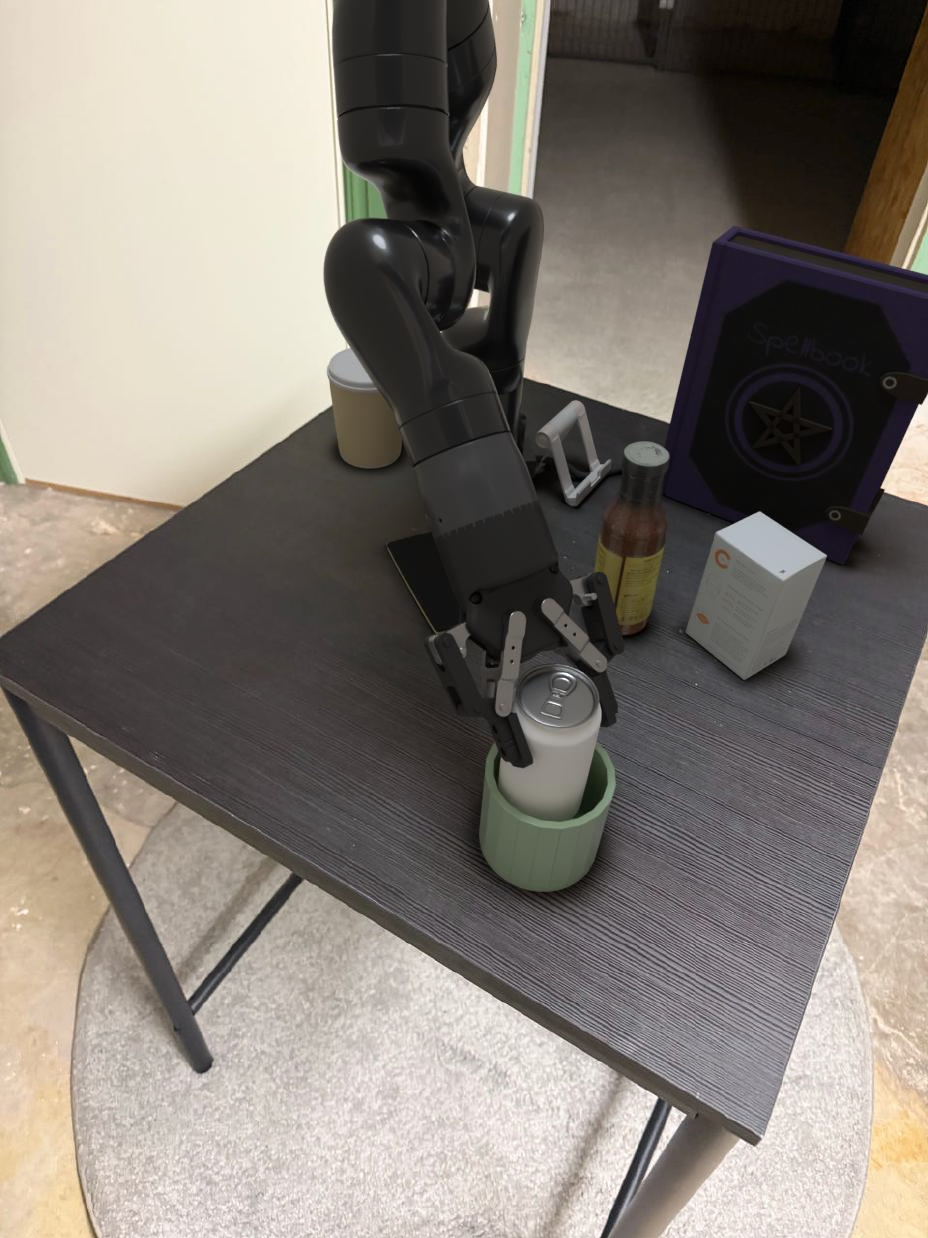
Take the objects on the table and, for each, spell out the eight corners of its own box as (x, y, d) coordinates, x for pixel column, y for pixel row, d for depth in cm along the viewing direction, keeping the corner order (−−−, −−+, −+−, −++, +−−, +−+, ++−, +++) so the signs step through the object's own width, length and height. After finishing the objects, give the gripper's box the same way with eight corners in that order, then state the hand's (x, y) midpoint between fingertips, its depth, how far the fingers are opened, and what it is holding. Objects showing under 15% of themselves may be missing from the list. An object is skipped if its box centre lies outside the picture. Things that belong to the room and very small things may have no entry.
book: (652, 494, 105) (711, 241, 84) (673, 470, 109) (734, 223, 88) (845, 569, 96) (965, 309, 75) (861, 540, 100) (979, 285, 79)
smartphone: (448, 526, 97) (505, 613, 87) (447, 534, 98) (504, 621, 88) (385, 541, 95) (437, 632, 85) (385, 549, 95) (437, 640, 86)
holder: (551, 770, 75) (563, 703, 69) (621, 856, 69) (642, 791, 63) (456, 819, 71) (461, 752, 65) (523, 914, 65) (535, 850, 59)
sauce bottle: (655, 608, 90) (698, 445, 77) (637, 647, 86) (680, 482, 72) (595, 589, 92) (627, 426, 78) (575, 625, 88) (605, 461, 74)
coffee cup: (412, 434, 112) (412, 347, 104) (401, 475, 106) (400, 386, 97) (341, 428, 113) (335, 341, 104) (325, 468, 106) (318, 379, 98)
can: (589, 776, 68) (615, 673, 60) (568, 844, 64) (593, 744, 55) (511, 751, 69) (525, 648, 61) (485, 816, 65) (496, 715, 56)
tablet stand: (577, 509, 102) (587, 448, 96) (520, 486, 105) (526, 425, 99) (610, 475, 108) (621, 415, 102) (554, 453, 110) (562, 395, 105)
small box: (786, 655, 86) (830, 555, 77) (743, 682, 83) (784, 581, 74) (725, 608, 91) (760, 508, 82) (682, 632, 88) (713, 531, 79)
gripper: (410, 538, 52) (503, 795, 53) (599, 473, 58) (678, 706, 59) (371, 555, 59) (454, 782, 60) (544, 496, 65) (616, 704, 66)
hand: (565, 744), depth 60 cm, fingers closed on can, 6 cm apart
